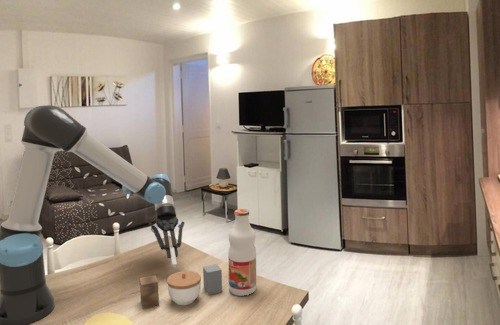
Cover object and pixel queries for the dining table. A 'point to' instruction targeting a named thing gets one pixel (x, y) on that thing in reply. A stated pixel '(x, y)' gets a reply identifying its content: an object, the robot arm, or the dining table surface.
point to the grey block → (212, 279)
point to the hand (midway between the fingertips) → (174, 265)
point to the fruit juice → (242, 255)
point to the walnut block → (149, 292)
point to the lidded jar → (184, 287)
